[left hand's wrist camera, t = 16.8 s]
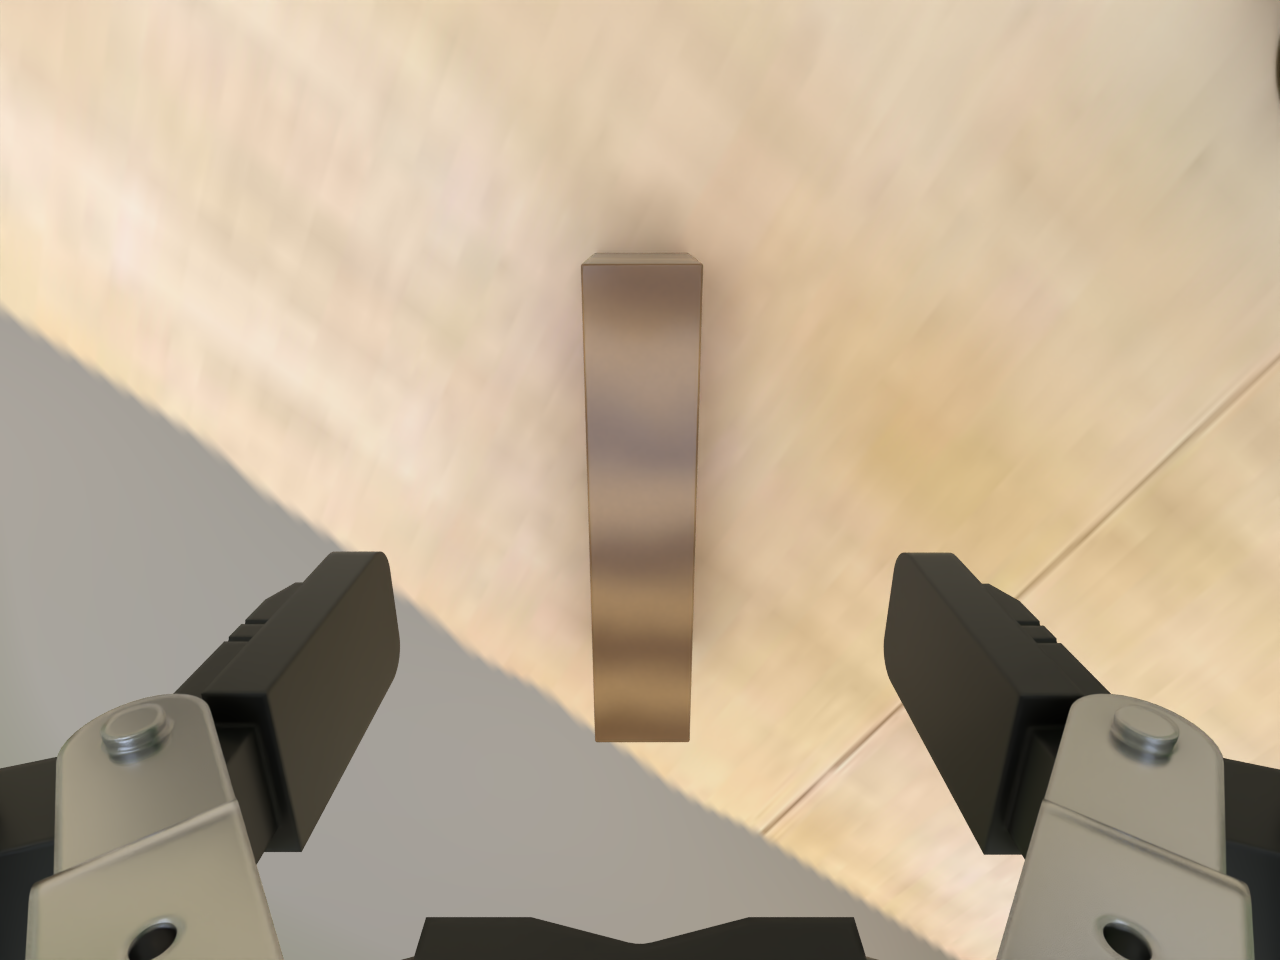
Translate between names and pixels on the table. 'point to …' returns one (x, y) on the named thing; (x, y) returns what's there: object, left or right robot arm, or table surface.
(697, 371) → the bar
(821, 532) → the table surface
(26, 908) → the left robot arm
